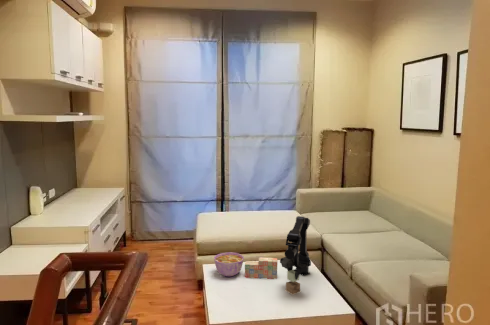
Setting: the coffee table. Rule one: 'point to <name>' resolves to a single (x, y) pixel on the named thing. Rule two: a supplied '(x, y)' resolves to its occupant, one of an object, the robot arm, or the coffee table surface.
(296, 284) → the walnut base
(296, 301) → the coffee table surface
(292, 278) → the sage cube
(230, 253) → the bowl of food
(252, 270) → the stack of blocks
